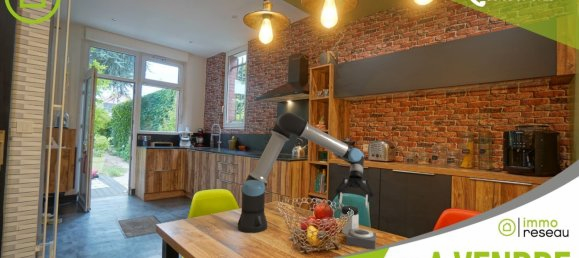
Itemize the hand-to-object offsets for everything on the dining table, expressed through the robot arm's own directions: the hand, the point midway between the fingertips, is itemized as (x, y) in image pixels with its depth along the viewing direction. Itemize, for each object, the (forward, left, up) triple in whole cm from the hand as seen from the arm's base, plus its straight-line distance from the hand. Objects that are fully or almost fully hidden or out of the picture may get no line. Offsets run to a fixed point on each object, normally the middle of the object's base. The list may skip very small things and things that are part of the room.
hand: (353, 205), depth 143 cm
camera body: (+6, -20, -12) cm, 24 cm away
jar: (-1, -8, -12) cm, 14 cm away
